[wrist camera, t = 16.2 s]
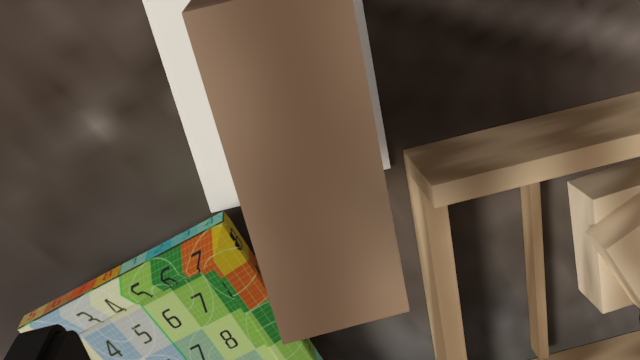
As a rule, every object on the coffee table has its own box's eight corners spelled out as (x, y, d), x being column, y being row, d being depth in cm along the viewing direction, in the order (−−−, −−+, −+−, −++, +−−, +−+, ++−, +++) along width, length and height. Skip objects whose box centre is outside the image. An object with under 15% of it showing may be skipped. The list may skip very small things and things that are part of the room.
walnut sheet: (292, -43, 26) (348, -27, 13) (335, 154, 30) (409, 311, 17) (207, -23, 26) (181, 12, 13) (262, 173, 30) (283, 344, 17)
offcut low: (643, 153, 34) (679, 172, 31) (648, 262, 37) (681, 288, 34) (563, 178, 34) (593, 199, 31) (575, 286, 37) (603, 314, 34)
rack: (681, 80, 32) (755, 104, 27) (666, 336, 39) (723, 388, 35) (402, 150, 31) (431, 185, 27) (441, 397, 39) (469, 458, 34)
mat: (345, -90, 26) (346, -91, 26) (388, 165, 31) (390, 168, 31) (130, -42, 26) (128, -42, 25) (211, 209, 31) (211, 212, 31)
